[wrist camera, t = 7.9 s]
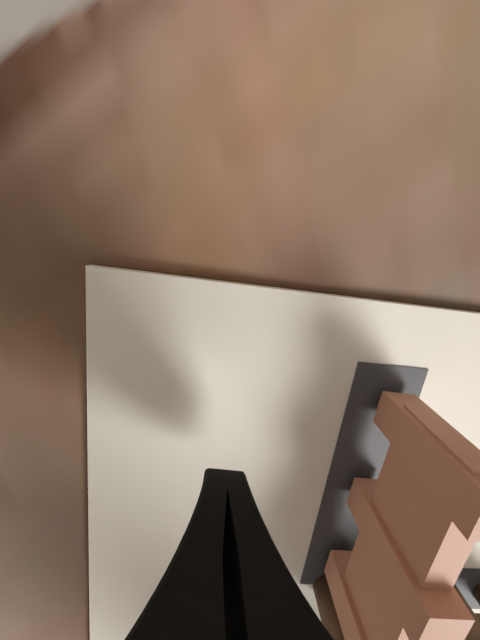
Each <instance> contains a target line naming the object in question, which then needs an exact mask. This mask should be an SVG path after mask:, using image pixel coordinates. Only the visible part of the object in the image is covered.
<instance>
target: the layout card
mask: <svg viewBox="0 0 480 640" xmlns="http://www.w3.org/2000/svg"><path fill="white" fill-rule="evenodd" d="M85 268H86V357H87V445H88V533H89V621H90V640H125V638H126V637H127V635H128V633H129V632H130V630H131V629H132V627H133V626H134V624H135V623H136V621H137V619H138V618H139V616H140V615H141V613H142V611H143V610H144V608H145V606H146V605H147V603H148V601H149V599H150V598H151V596H152V594H153V593H154V591H155V589H156V588H157V586H158V584H159V582H160V580H161V579H162V577H163V575H164V573H165V571H166V569H167V567H168V566H169V564H170V562H171V560H172V558H173V556H174V554H175V552H176V550H177V548H178V546H179V544H180V541H181V539H182V537H183V535H184V533H185V531H186V528H187V526H188V524H189V522H190V519H191V517H192V514H193V511H194V509H195V506H196V504H197V501H198V498H199V495H200V492H201V488H202V484H203V478H204V472H205V470H206V469H208V468H214V469H224V470H235V471H243V472H244V473H245V475H246V478H247V481H248V484H249V487H250V490H251V492H252V495H253V497H254V500H255V502H256V505H257V507H258V510H259V512H260V514H261V516H262V519H263V521H264V523H265V525H266V527H267V529H268V532H269V534H270V536H271V538H272V540H273V542H274V544H275V546H276V548H277V549H278V551H279V553H280V555H281V557H282V559H283V561H284V563H285V564H286V566H287V568H288V570H289V572H290V573H291V575H292V577H293V578H294V580H295V582H296V583H297V585H298V587H299V588H300V590H301V592H302V593H303V595H304V596H305V598H306V600H307V601H308V603H309V604H310V606H311V607H312V609H313V610H314V612H315V613H316V615H317V616H318V618H319V619H320V621H321V618H320V614H319V610H318V606H317V602H316V598H315V594H314V590H313V583H314V582H315V580H316V579H317V578H319V577H320V576H322V575H325V572H324V569H325V566H326V563H327V560H328V557H329V554H330V551H331V550H344V551H352V550H353V548H354V545H355V542H356V539H357V536H358V533H359V529H358V527H357V525H356V522H355V520H354V518H353V516H352V514H351V511H350V509H349V507H348V505H347V503H346V502H347V499H348V496H349V493H350V490H351V486H352V483H353V480H354V477H356V478H367V479H378V477H379V474H380V471H381V468H382V465H383V463H384V460H385V457H386V454H387V451H388V448H389V446H390V442H389V441H388V439H387V438H386V437H385V436H384V434H383V433H382V432H381V430H380V429H379V428H378V427H377V425H376V424H375V423H374V422H373V419H374V416H375V413H376V410H377V407H378V403H379V400H380V397H381V394H382V391H388V392H397V393H405V394H413V395H416V396H417V397H418V398H420V399H421V400H422V401H423V402H424V403H425V404H427V405H428V406H429V407H430V408H431V409H432V410H434V411H435V412H436V413H437V414H438V415H440V416H441V417H442V418H443V419H444V420H445V421H447V422H448V423H449V424H450V425H451V426H452V427H454V428H455V429H456V430H457V431H458V432H459V433H461V434H462V435H463V436H464V437H465V438H466V439H468V440H469V441H470V442H471V443H472V444H474V445H475V446H476V447H477V448H478V449H479V450H480V312H474V311H466V310H458V309H450V308H442V307H434V306H425V305H417V304H409V303H401V302H393V301H385V300H377V299H369V298H360V297H352V296H344V295H336V294H328V293H320V292H312V291H303V290H295V289H287V288H279V287H271V286H263V285H255V284H247V283H238V282H230V281H222V280H214V279H206V278H198V277H190V276H182V275H173V274H165V273H157V272H149V271H141V270H133V269H125V268H116V267H108V266H100V265H92V264H90V265H86V266H85ZM479 583H480V542H475V544H474V546H473V548H472V550H471V552H470V554H469V556H468V558H467V560H466V562H465V564H464V566H463V568H462V570H461V572H460V574H459V576H458V578H457V580H456V582H455V585H456V586H457V588H458V589H459V591H460V592H461V594H462V595H463V597H464V598H465V600H466V601H467V603H468V604H469V606H470V607H471V609H472V610H473V612H474V613H480V605H479V604H478V602H477V601H476V599H475V598H474V596H473V590H474V588H475V587H476V586H477V585H478V584H479Z"/></svg>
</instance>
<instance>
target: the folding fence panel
mask: <svg viewBox="0 0 480 640" xmlns="http://www.w3.org/2000/svg"><path fill="white" fill-rule="evenodd" d="M373 422H374V423H375V424H376V425H377V427H378V428H379V429H380V430H381V432H382V433H383V434H384V436H385V437H386V438H387V439H388V441H389V442H390V446H389V448H388V451H387V454H386V457H385V460H384V463H383V465H382V468H381V471H380V474H379V477H378V479H367V478H356V477H354V480H353V483H352V486H351V490H350V493H349V496H348V499H347V502H346V503H347V505H348V507H349V509H350V511H351V514H352V516H353V518H354V520H355V522H356V525H357V527H358V529H359V533H358V536H357V539H356V542H355V545H354V548H353V550H352V551H344V550H331V551H330V554H329V557H328V560H327V563H326V566H325V569H324V572H325V575H326V579H327V582H328V586H329V589H330V592H331V596H332V599H333V602H334V606H335V609H336V612H337V616H338V619H339V623H340V626H341V629H342V633H343V636H344V639H345V640H465V638H466V636H467V634H468V633H469V631H470V629H471V627H472V625H473V624H474V622H475V619H474V618H473V616H472V615H471V613H470V611H469V610H468V608H467V607H466V605H465V604H464V602H463V601H462V599H461V598H460V596H459V594H458V593H457V591H456V590H455V588H454V587H453V586H454V584H455V582H456V580H457V578H458V576H459V574H460V572H461V570H462V568H463V566H464V564H465V562H466V560H467V558H468V556H469V554H470V552H471V550H472V548H473V546H474V544H475V542H480V450H479V449H478V448H477V447H476V446H475V445H474V444H472V443H471V442H470V441H469V440H468V439H466V438H465V437H464V436H463V435H462V434H461V433H459V432H458V431H457V430H456V429H455V428H454V427H452V426H451V425H450V424H449V423H448V422H447V421H445V420H444V419H443V418H442V417H441V416H440V415H438V414H437V413H436V412H435V411H434V410H432V409H431V408H430V407H429V406H428V405H427V404H425V403H424V402H423V401H422V400H421V399H420V398H418V397H417V396H416V395H413V394H405V393H397V392H388V391H382V394H381V397H380V400H379V403H378V407H377V410H376V413H375V416H374V419H373Z"/></svg>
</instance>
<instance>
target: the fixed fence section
mask: <svg viewBox="0 0 480 640" xmlns="http://www.w3.org/2000/svg"><path fill="white" fill-rule="evenodd" d="M453 587H454V588H455V590H456V591H457V593H458V594H459V596H460V598H461V599H462V601H463V602H464V604H465V605H466V607H467V608H468V610H469V611H470V613H471V615H472V616H473V618H474V619H475V622H474V624H473V625H472V627H471V629H470V631H469V633H468V634H467V636H466V638H465V640H480V613H474V612H473V610H472V609H471V607H470V606H469V604H468V603H467V601H466V600H465V598H464V597H463V595H462V594H461V592H460V591H459V589H458V588H457V586H456V585H455V584H454V586H453ZM313 590H314V594H315V598H316V602H317V606H318V610H319V614H320V618H321V622H322V624H323V625H324V626H325V628H326V629H327V631H328V632H329V633H330V635H331V636H332V638H333V639H334V640H345V639H344V636H343V633H342V629H341V626H340V623H339V619H338V616H337V612H336V609H335V606H334V602H333V599H332V596H331V592H330V589H329V586H328V582H327V579H326V575H322V576H320V577H319V578H317V579H316V580H315V582H314V583H313ZM473 596H474V598H475V599H476V601H477V602H478V604H479V605H480V583H479V584H478V585H477V586H476V587H475V588H474V590H473Z"/></svg>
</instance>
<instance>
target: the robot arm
mask: <svg viewBox="0 0 480 640" xmlns="http://www.w3.org/2000/svg"><path fill="white" fill-rule="evenodd" d="M125 640H334V639H333V638H332V636H331V635H330V633H329V632H328V631H327V629H326V628H325V626H324V625H323V624H322V622H321V621H320V619H319V618H318V616H317V615H316V613H315V612H314V610H313V609H312V607H311V606H310V604H309V603H308V601H307V600H306V598H305V596H304V595H303V593H302V592H301V590H300V588H299V587H298V585H297V583H296V582H295V580H294V578H293V577H292V575H291V573H290V572H289V570H288V568H287V566H286V564H285V563H284V561H283V559H282V557H281V555H280V553H279V551H278V549H277V548H276V546H275V544H274V542H273V540H272V538H271V536H270V534H269V532H268V529H267V527H266V525H265V523H264V521H263V519H262V516H261V514H260V512H259V510H258V507H257V505H256V502H255V500H254V497H253V495H252V492H251V490H250V487H249V484H248V481H247V478H246V475H245V473H244V472H243V471H235V470H224V469H214V468H208V469H206V470H205V472H204V478H203V484H202V488H201V492H200V495H199V498H198V501H197V504H196V506H195V509H194V511H193V514H192V517H191V519H190V522H189V524H188V526H187V528H186V531H185V533H184V535H183V537H182V539H181V541H180V544H179V546H178V548H177V550H176V552H175V554H174V556H173V558H172V560H171V562H170V564H169V566H168V567H167V569H166V571H165V573H164V575H163V577H162V579H161V580H160V582H159V584H158V586H157V588H156V589H155V591H154V593H153V594H152V596H151V598H150V599H149V601H148V603H147V605H146V606H145V608H144V610H143V611H142V613H141V615H140V616H139V618H138V619H137V621H136V623H135V624H134V626H133V627H132V629H131V630H130V632H129V633H128V635H127V637H126V638H125Z"/></svg>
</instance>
